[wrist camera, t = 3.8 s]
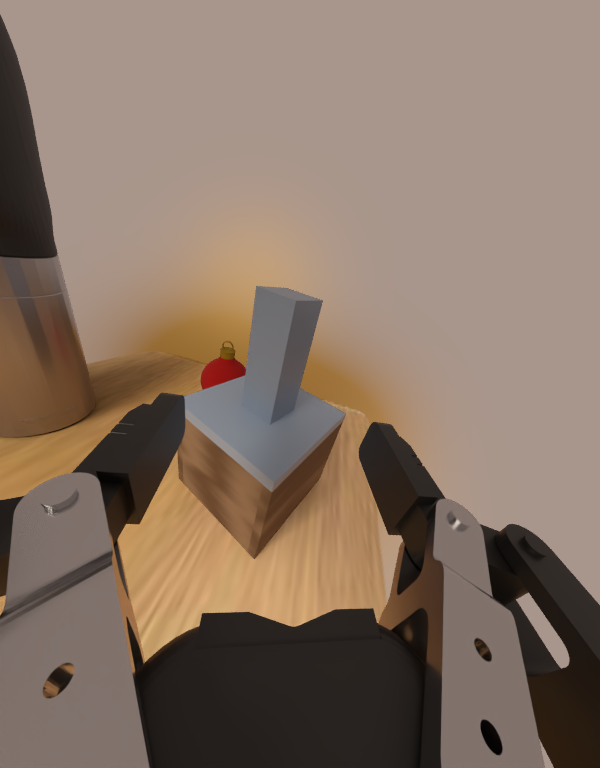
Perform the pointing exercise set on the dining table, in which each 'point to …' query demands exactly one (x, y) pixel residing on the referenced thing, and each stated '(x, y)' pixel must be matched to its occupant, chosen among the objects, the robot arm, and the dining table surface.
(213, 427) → the lid
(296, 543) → the dining table surface
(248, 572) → the dining table surface
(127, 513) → the robot arm
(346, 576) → the dining table surface
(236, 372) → the christmas ornament
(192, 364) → the dining table surface
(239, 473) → the block
